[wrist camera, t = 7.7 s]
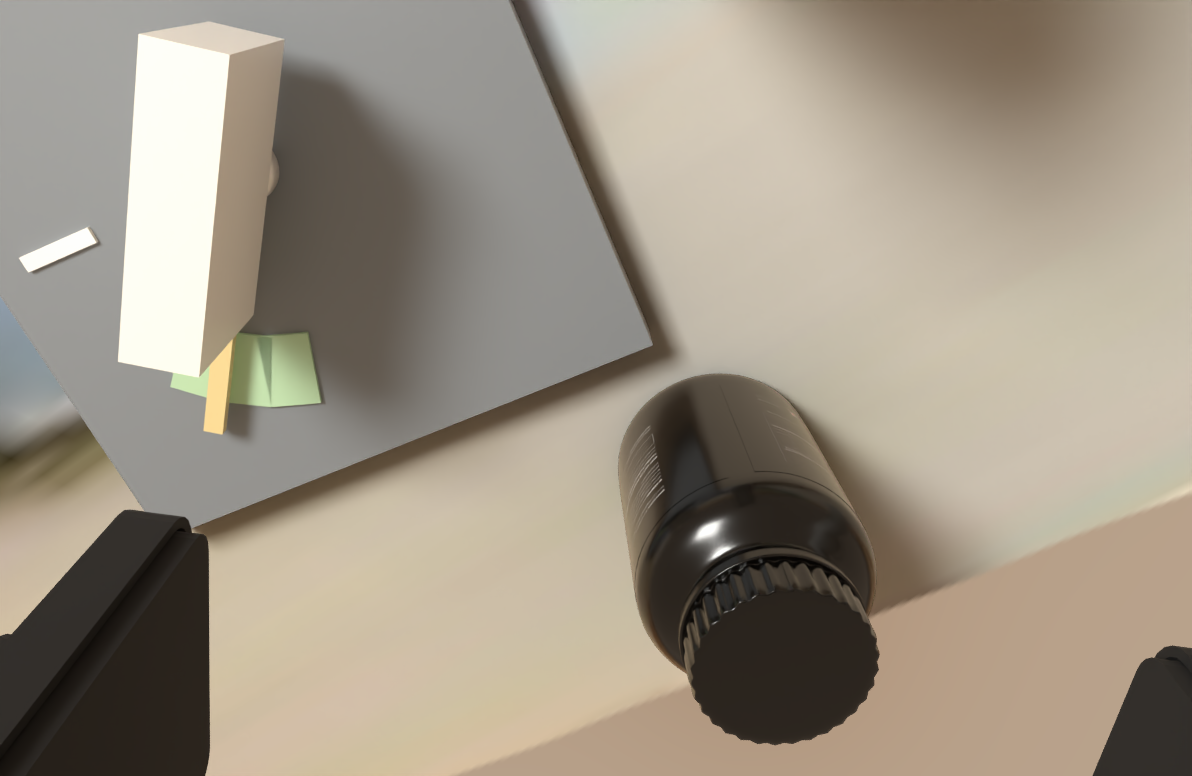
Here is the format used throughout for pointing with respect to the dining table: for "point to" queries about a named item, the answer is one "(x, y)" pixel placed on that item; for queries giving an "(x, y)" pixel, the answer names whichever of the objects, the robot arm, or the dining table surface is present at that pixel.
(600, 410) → the dining table surface
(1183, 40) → the dining table surface
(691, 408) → the supplement bottle
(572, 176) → the slate dial board
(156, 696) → the robot arm
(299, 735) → the dining table surface
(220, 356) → the white ice pop
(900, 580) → the dining table surface
